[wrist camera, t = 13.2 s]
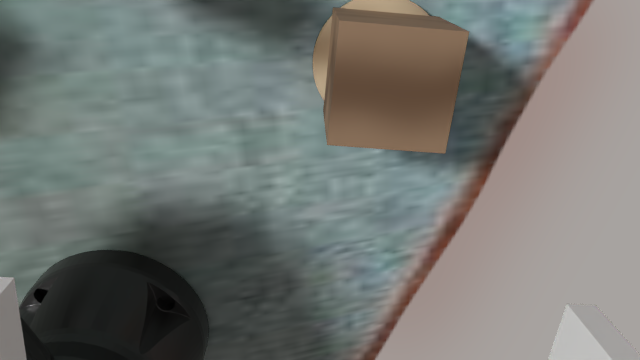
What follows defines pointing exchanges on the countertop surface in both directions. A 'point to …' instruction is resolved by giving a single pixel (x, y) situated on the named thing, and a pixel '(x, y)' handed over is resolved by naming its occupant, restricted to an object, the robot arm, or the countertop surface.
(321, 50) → the cork coaster
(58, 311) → the robot arm
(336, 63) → the walnut block
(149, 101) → the countertop surface
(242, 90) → the countertop surface
